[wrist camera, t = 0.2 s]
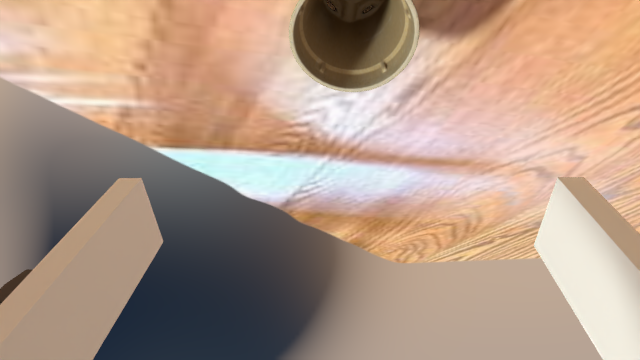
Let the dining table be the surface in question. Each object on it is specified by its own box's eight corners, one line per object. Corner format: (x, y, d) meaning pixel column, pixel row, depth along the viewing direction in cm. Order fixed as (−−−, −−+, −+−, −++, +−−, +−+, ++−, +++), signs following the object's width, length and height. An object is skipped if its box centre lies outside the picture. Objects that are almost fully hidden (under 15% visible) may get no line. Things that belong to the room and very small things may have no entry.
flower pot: (433, -35, 31) (448, 16, 26) (369, 53, 38) (371, 109, 33) (334, -101, 29) (327, -60, 23) (284, 7, 35) (269, 60, 30)
